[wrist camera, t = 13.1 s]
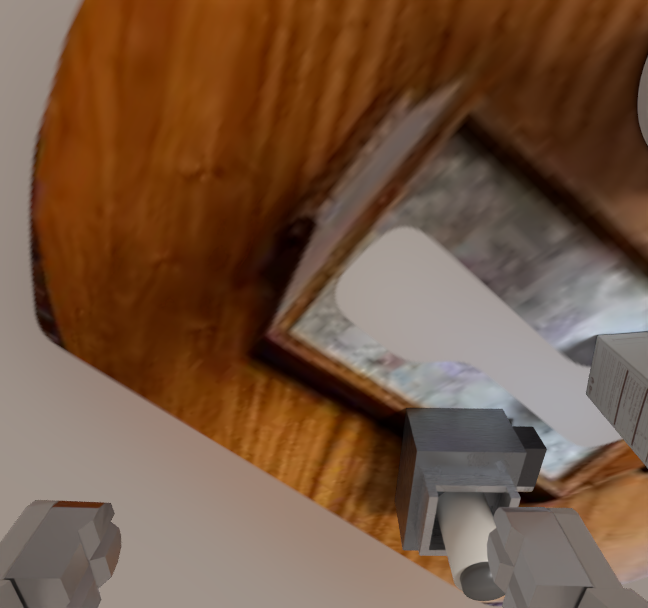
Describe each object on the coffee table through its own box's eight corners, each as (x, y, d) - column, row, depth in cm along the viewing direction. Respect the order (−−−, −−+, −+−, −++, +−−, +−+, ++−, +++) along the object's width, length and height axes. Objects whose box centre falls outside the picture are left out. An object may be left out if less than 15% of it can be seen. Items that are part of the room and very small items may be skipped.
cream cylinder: (490, 486, 41) (524, 567, 34) (481, 522, 43) (511, 604, 36) (438, 486, 41) (461, 566, 34) (431, 521, 43) (452, 603, 36)
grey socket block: (531, 409, 45) (573, 475, 37) (504, 503, 51) (536, 575, 43) (406, 407, 45) (422, 473, 37) (394, 501, 51) (406, 574, 43)
